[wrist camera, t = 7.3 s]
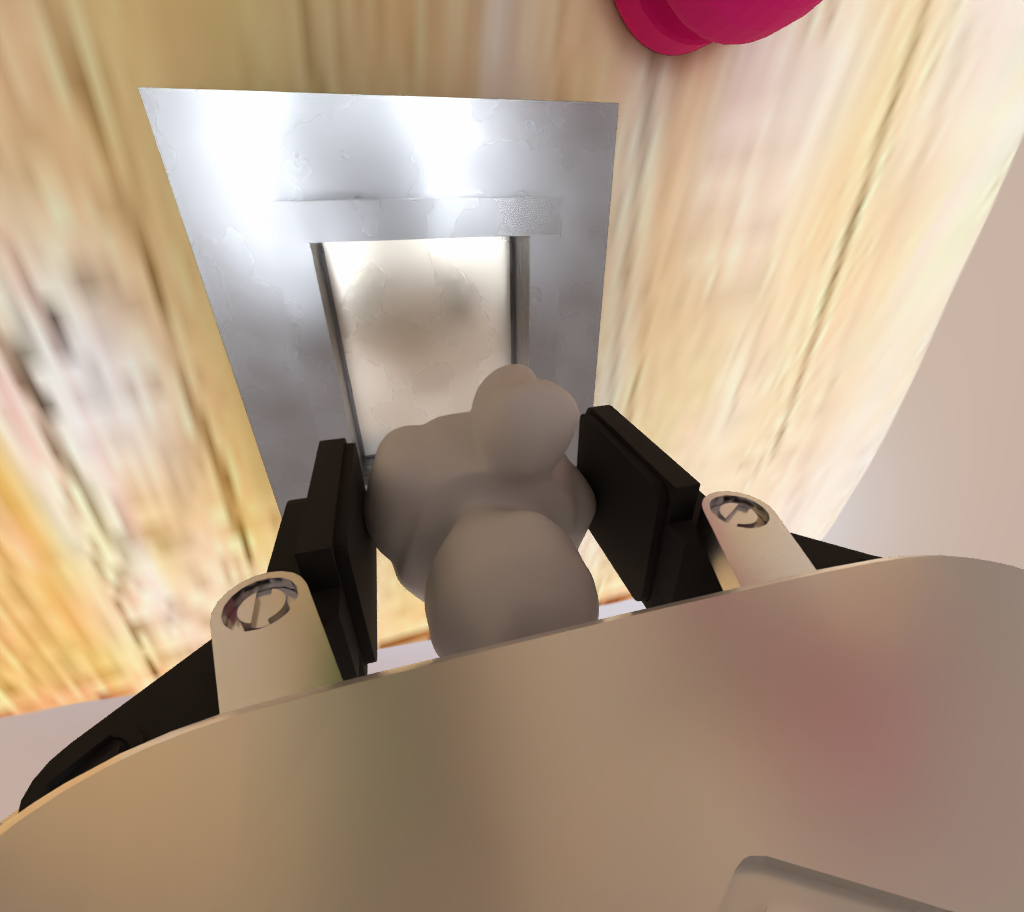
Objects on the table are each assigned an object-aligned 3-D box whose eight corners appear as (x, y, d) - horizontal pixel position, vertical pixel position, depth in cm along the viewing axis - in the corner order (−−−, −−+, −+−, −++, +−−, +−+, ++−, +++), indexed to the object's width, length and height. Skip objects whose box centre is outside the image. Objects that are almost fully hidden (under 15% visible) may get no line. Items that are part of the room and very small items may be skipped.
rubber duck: (345, 532, 13) (314, 894, 6) (401, 304, 10) (452, 498, 4) (516, 552, 15) (632, 839, 8) (598, 365, 12) (862, 562, 6)
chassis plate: (162, 99, 15) (95, 67, 12) (596, 111, 19) (652, 90, 15) (295, 518, 24) (281, 577, 21) (573, 474, 28) (604, 518, 24)
